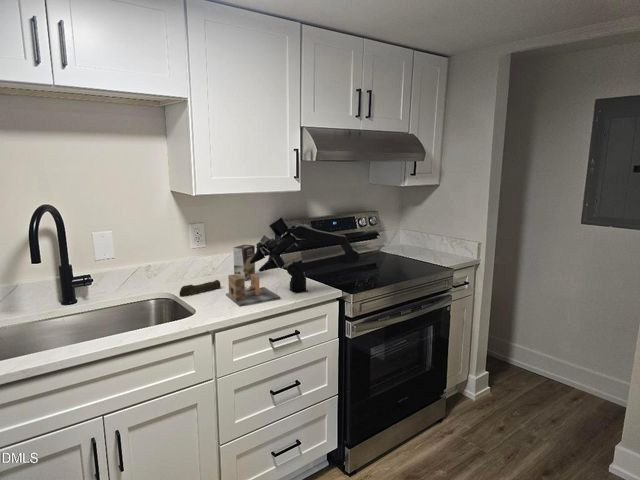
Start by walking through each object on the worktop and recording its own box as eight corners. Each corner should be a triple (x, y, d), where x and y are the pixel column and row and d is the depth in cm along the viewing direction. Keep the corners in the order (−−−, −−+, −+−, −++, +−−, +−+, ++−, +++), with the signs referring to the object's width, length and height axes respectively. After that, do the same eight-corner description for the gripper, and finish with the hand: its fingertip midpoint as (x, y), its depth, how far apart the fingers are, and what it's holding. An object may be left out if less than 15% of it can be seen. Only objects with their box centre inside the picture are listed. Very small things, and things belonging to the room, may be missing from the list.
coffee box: (244, 281, 204) (243, 248, 201) (233, 279, 207) (232, 247, 204) (255, 276, 212) (254, 245, 209) (245, 275, 215) (244, 244, 212)
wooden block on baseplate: (264, 289, 192) (264, 267, 190) (280, 299, 179) (279, 276, 177) (226, 295, 183) (225, 273, 181) (239, 306, 170) (238, 282, 168)
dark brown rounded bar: (216, 287, 196) (216, 277, 195) (221, 289, 193) (220, 279, 192) (177, 296, 183) (176, 285, 182) (181, 298, 180) (180, 287, 179)
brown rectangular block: (255, 291, 184) (254, 273, 182) (259, 294, 180) (259, 276, 178) (236, 295, 180) (235, 276, 178) (240, 298, 175) (239, 279, 174)
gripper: (264, 224, 188) (236, 246, 184) (284, 237, 173) (254, 261, 169) (276, 242, 194) (249, 264, 190) (296, 256, 179) (267, 280, 175)
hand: (254, 266), depth 181 cm, fingers open, 9 cm apart
